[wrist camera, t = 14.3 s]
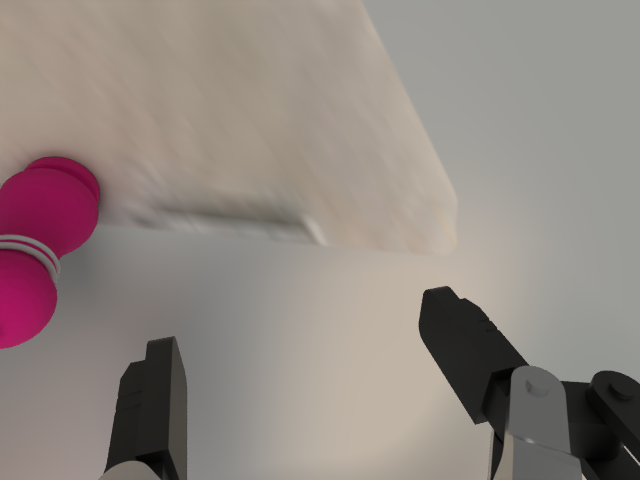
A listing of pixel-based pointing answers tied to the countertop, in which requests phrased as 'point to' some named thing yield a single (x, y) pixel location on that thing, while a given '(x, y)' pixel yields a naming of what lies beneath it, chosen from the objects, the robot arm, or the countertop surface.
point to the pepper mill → (40, 240)
